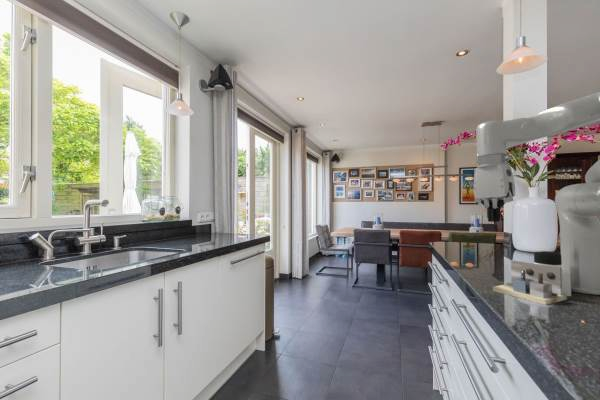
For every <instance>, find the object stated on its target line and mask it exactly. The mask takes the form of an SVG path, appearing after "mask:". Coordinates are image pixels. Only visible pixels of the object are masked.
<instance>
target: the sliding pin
mask: <svg viewBox="0 0 600 400" xmlns="http://www.w3.org/2000/svg"><path fill="white" fill-rule="evenodd" d="M530 282H534V280H531V279H526V278H525V270H521V278H516V279H513V290H514V291H518V292H522V293H530Z"/></svg>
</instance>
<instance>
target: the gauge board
mask: <svg viewBox="0 0 600 400" xmlns="http://www.w3.org/2000/svg"><path fill="white" fill-rule="evenodd" d="M521 270H525V278H526V279H531V280H534V282H530V293H522V292H518V291H514V290H513V279H516V278H521ZM510 273H511V282H506V284H505V283H504V284H500V285H495V286H492V292H494V293H495V292H496V293H500V294H503V295H508V296H510V297H513V298H514V297H515V298H518V299H522V300H525V299H526V300H527V301H528V302H533V303H537V304H540V305H544V306H546V305H551V304H555V303H559V302H563V301H566V300H568V296H567V295H565V294H562V268H559V267H552V266H546V265H540V264H534V263H532V262H526V261H519V260H512V259H511V260H510Z"/></svg>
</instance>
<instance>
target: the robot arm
mask: <svg viewBox="0 0 600 400" xmlns="http://www.w3.org/2000/svg"><path fill="white" fill-rule="evenodd" d="M597 122H600V91H598V92H595V93H591V94H589V95H585V96H583V97H579V98H577V99H572V100H571V101H566V102H563V103H561V104H557V105H554V106H553V107H549V108H547V109H544V111H541V112H539V113H537V114H534V115H532V116H530V117H520V118H514V119H509V120H507V119H506V120H488V121H485V122H482V123H479V124H478V125H477V126H476V127H475V136H476V137H475V139H476V140H475V141H476V163H477V167H476V168H475V170H474V176H473V195H474V198H475V199H474V202H475V203H477V204H482V205H483V206H484V208H485V209H486V214H487V215H486V217H487V221H488V223H489V222H492V223H496V222H500V221H501V218H502V217H501V215H502V214H501V209H503V207H504V205H505V204H506V203H507V204H508V203H510V202H514V197H515V196H516V186H515V185H516V184H515V177H514V174H513V170H512V166H511V164H508V161H510V160H511V159H512V156H511V155H509V154H507V150H508V149H511V148H513V147H516V146H520V145H523V144H526V143H529V142H532V141H535V140H539V139H544V138H548V137H552V136H556V135H559V134H562V133H565V132H569V131H573V130H575V129H578V128H581V127H585V126H588V125H591V124H595V123H597ZM584 180H585V182H583V183H576V184H575V183H574V184H570V185H566V186H563V188H561V189H559V190H558V191H557V193H556V194H555V197H554V205H555V209H556V212H557V215H558V221H559V235H560V237H559V239H560V240H559V241H560V242H559V243H560V245H559V246H560V255H561V260H562V267H561V268H562V270H566V271H569V272H570V273H571V292H575V293H579V294H580V293H581V294H586V295H595V296H596V295H598V296H600V218H599V217H600V159H598V160H597V161H596V162H595V163H594V164H593V165H592V166H591V167H590V168H588V170H587V171H586V173H585V175H584Z"/></svg>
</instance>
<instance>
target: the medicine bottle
mask: <svg viewBox="0 0 600 400" xmlns="http://www.w3.org/2000/svg"><path fill="white" fill-rule="evenodd" d="M533 260H534V261H533V262H534V263H533V264H540V265H546V266H552V267H559V268H561V267H562V260H561V253H559V252H555V251H545V250H544V251H543V250H542V251H541V250H539V251H538V250H537V251H535V252H534V253H533ZM562 294H565V295H567V297H572V291H571V273H570V272H569V271H566V270H562Z"/></svg>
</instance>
